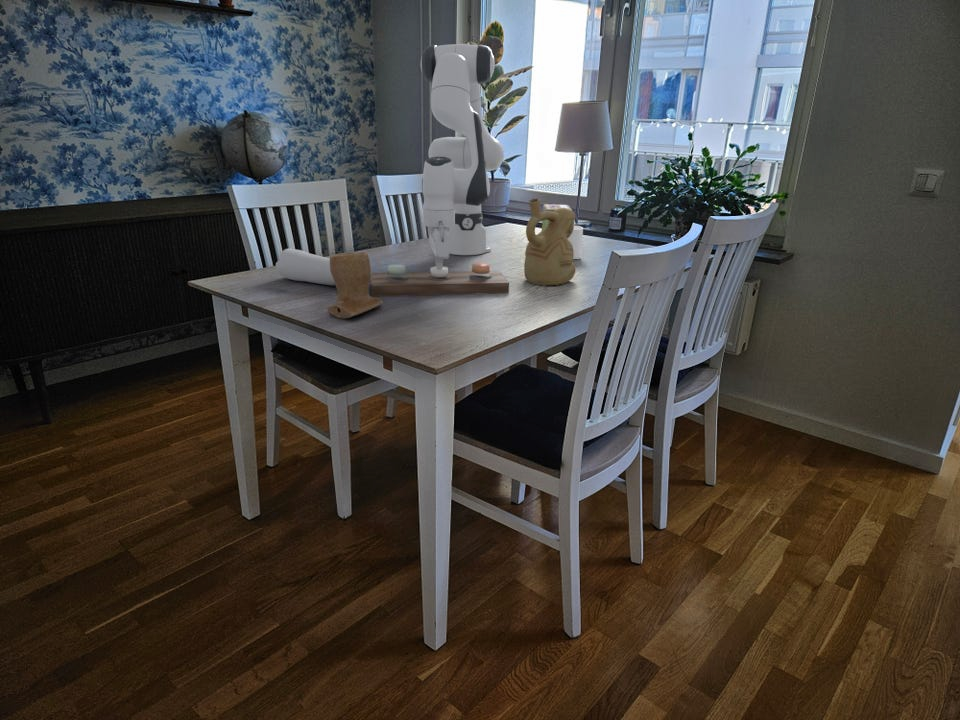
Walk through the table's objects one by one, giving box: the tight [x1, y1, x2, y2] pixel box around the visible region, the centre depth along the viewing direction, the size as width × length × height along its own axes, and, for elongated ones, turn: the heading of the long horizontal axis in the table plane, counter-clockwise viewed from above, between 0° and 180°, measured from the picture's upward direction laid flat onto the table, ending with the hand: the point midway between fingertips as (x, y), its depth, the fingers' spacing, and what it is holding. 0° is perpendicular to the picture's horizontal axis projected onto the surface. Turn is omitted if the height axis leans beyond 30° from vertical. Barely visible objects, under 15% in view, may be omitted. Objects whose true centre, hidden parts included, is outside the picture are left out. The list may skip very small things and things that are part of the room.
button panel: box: [371, 270, 510, 297], centre depth 179 cm, size 14×38×3 cm, turn 99°
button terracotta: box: [471, 262, 491, 274], centre depth 180 cm, size 5×5×2 cm
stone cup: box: [326, 251, 384, 319], centre depth 155 cm, size 15×12×15 cm
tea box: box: [541, 203, 573, 231], centre depth 237 cm, size 15×10×15 cm, turn 178°
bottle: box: [275, 247, 372, 287], centre depth 179 cm, size 9×9×30 cm
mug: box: [567, 225, 584, 260], centre depth 216 cm, size 9×12×11 cm
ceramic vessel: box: [523, 198, 577, 286], centre depth 185 cm, size 17×20×25 cm
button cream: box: [430, 265, 449, 277], centre depth 178 cm, size 5×5×2 cm
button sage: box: [387, 263, 407, 276], centre depth 176 cm, size 5×5×2 cm
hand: (439, 268), depth 178 cm, fingers closed, pressing on button cream
